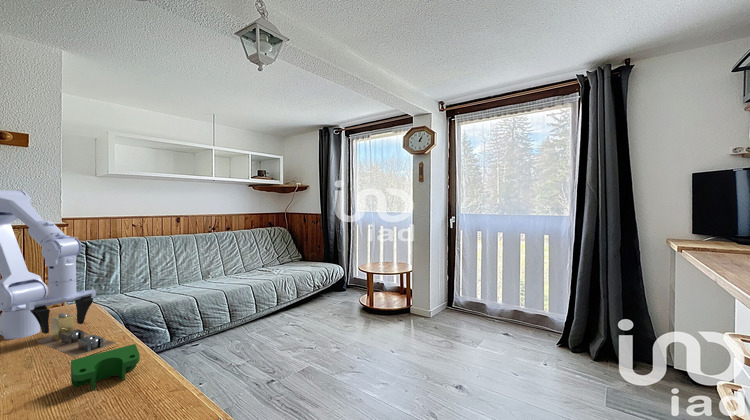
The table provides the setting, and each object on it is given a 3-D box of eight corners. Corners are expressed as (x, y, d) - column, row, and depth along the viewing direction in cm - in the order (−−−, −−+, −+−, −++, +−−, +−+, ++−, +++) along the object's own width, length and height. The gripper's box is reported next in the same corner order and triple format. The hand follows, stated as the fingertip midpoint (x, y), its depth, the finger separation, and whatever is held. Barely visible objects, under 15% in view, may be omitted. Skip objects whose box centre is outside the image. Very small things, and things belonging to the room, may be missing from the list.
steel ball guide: (61, 341, 89) (61, 333, 89) (77, 337, 92) (77, 329, 92) (87, 351, 83) (87, 342, 83) (103, 346, 86) (103, 337, 86)
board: (35, 344, 89) (35, 340, 89) (76, 332, 97) (76, 329, 97) (74, 360, 80) (74, 356, 80) (116, 346, 88) (116, 342, 88)
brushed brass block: (51, 338, 91) (51, 315, 91) (67, 334, 94) (67, 311, 94) (58, 341, 89) (58, 317, 89) (74, 336, 92) (74, 313, 92)
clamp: (86, 411, 67) (62, 383, 63) (82, 393, 71) (60, 366, 67) (149, 371, 75) (132, 344, 70) (143, 357, 79) (126, 330, 74)
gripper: (33, 287, 83) (34, 340, 83) (100, 276, 96) (101, 321, 96) (21, 285, 86) (22, 335, 86) (88, 274, 99) (89, 318, 99)
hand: (63, 327), depth 92 cm, fingers open, 7 cm apart
